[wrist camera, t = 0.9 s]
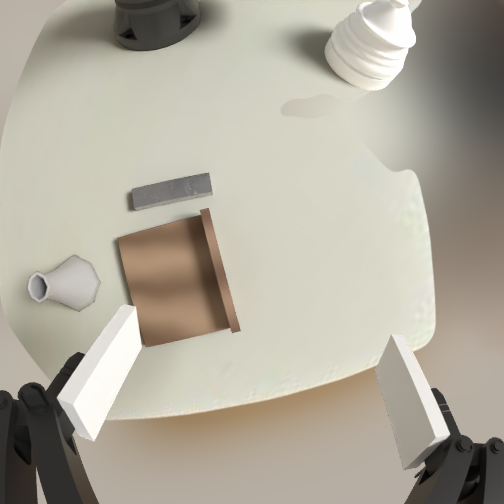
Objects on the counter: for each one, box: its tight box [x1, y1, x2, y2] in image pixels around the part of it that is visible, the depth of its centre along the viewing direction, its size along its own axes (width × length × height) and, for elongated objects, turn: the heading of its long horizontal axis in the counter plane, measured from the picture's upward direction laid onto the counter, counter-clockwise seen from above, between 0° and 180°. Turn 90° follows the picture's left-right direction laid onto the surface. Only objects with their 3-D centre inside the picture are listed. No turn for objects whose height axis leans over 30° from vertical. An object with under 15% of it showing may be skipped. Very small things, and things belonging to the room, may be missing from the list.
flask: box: [27, 255, 100, 312], centre depth 29 cm, size 7×7×10 cm
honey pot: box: [325, 0, 416, 91], centre depth 32 cm, size 13×13×18 cm
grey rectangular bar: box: [132, 173, 213, 211], centre depth 36 cm, size 2×10×2 cm, turn 101°
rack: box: [118, 208, 241, 347], centre depth 34 cm, size 14×12×4 cm
